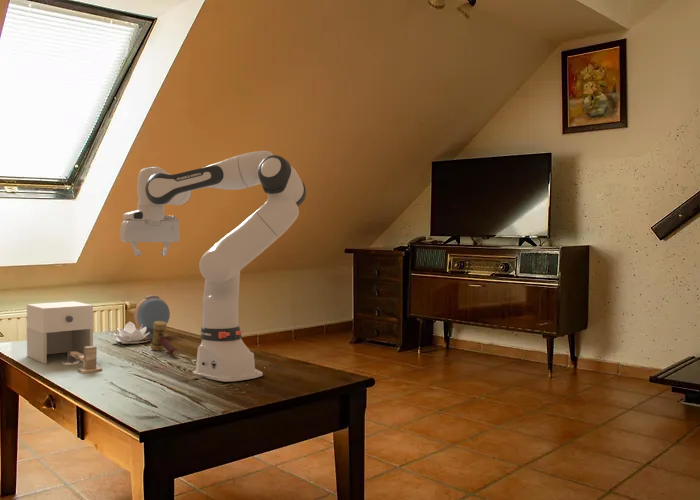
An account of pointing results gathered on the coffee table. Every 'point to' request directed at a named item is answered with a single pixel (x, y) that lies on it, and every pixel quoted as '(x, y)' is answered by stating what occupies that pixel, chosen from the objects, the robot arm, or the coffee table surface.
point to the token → (70, 362)
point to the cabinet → (58, 328)
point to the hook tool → (85, 359)
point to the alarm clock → (151, 314)
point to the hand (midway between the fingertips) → (150, 255)
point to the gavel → (161, 338)
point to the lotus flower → (130, 334)
